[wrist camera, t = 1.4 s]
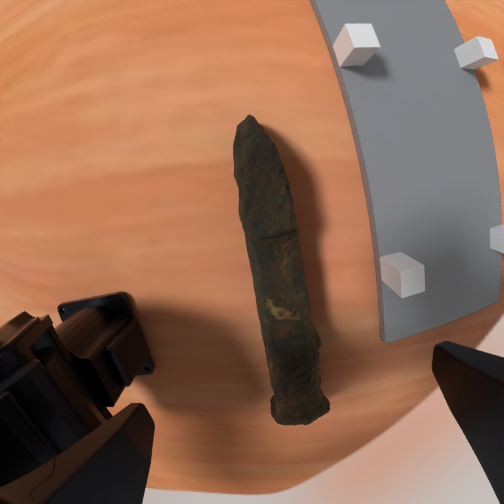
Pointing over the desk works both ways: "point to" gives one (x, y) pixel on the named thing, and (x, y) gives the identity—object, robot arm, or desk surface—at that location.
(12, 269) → the desk surface
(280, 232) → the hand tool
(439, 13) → the plate
